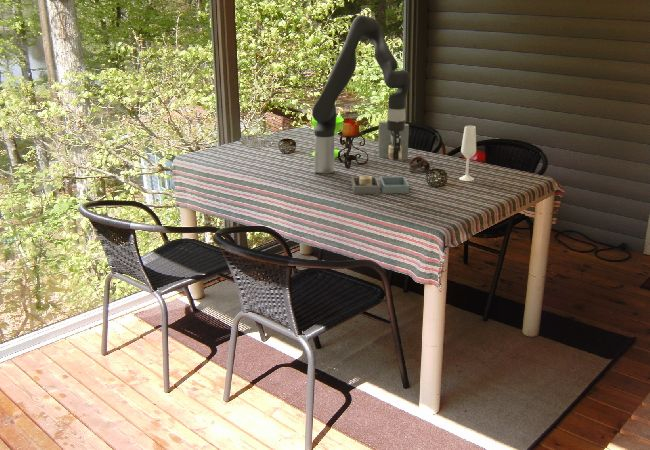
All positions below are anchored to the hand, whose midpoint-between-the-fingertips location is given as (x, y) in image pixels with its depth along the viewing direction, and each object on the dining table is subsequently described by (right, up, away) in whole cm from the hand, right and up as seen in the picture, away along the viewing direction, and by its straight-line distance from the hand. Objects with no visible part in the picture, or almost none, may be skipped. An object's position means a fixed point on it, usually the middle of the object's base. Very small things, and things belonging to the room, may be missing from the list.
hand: (394, 157), depth 313 cm
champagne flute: (+35, -8, +20) cm, 40 cm away
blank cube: (-12, -13, +4) cm, 18 cm away
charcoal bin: (-12, -13, +4) cm, 19 cm away
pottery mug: (+15, -3, +32) cm, 36 cm away
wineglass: (-28, +7, +60) cm, 67 cm away
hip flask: (+4, +5, +54) cm, 54 cm away
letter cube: (0, 0, 0) cm, 0 cm away
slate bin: (0, -13, +5) cm, 14 cm away
